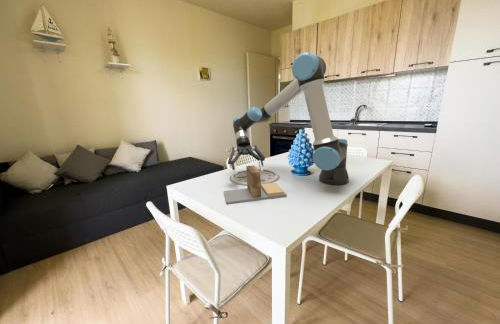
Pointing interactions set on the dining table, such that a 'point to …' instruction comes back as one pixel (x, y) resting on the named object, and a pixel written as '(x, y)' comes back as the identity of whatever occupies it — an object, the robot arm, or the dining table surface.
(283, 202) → the dining table surface
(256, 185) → the brown wooden square block
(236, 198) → the underlay board
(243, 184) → the wall clock
